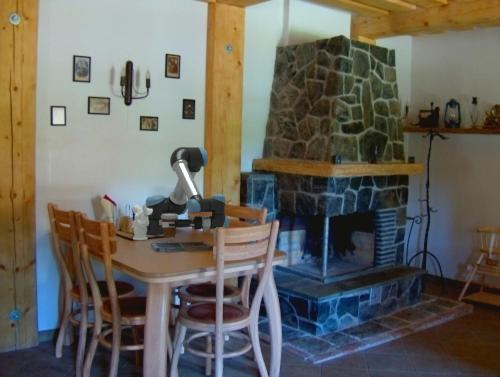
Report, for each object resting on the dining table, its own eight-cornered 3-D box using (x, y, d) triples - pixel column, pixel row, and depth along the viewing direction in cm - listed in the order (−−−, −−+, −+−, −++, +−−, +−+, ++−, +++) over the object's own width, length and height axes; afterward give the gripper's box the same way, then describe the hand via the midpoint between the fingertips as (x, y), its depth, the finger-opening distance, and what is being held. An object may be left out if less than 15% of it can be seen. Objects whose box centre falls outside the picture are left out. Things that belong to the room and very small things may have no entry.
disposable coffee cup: (157, 236, 316) (157, 214, 315) (167, 234, 325) (167, 212, 324) (171, 238, 312) (171, 216, 311) (181, 235, 320) (181, 214, 319)
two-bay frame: (150, 245, 326) (150, 242, 326) (204, 243, 336) (204, 240, 336) (156, 252, 307) (156, 249, 307) (212, 250, 317) (213, 247, 317)
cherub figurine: (129, 238, 346) (129, 201, 345) (148, 236, 354) (148, 201, 352) (138, 241, 337) (139, 203, 335) (157, 239, 344) (158, 202, 342)
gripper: (205, 232, 314) (164, 233, 307) (196, 226, 334) (157, 227, 327) (206, 218, 313) (164, 219, 306) (197, 213, 333) (157, 214, 326)
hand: (161, 223), depth 316 cm, fingers closed on disposable coffee cup, 8 cm apart
